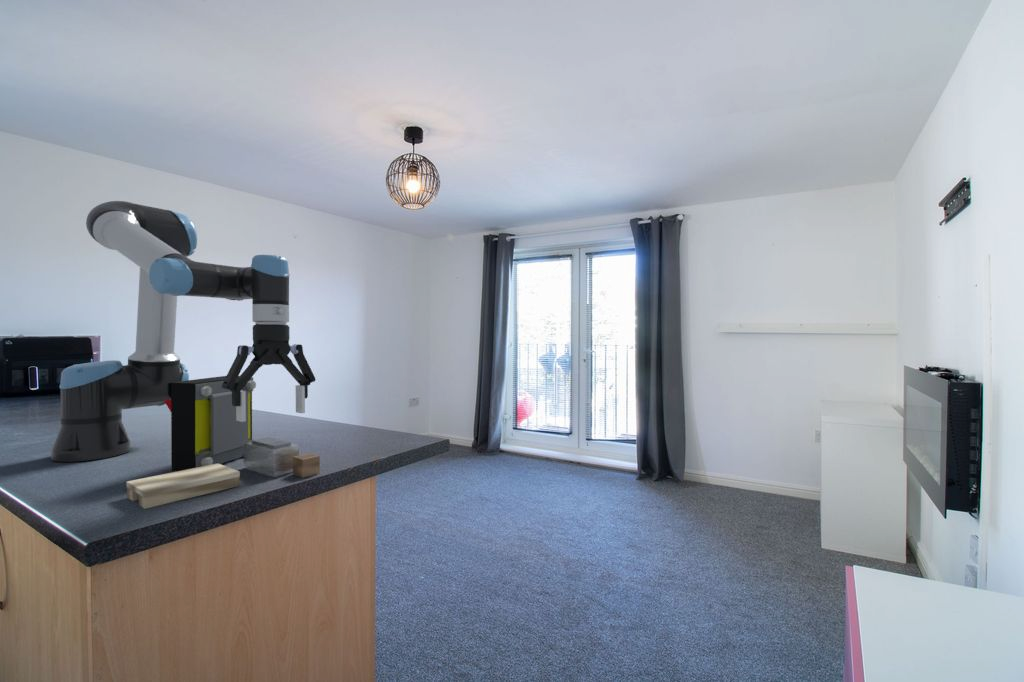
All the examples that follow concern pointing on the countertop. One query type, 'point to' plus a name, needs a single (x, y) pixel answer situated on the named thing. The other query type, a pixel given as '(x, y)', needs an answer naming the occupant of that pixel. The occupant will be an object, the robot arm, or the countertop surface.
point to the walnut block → (306, 465)
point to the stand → (181, 485)
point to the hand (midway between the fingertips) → (272, 416)
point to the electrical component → (206, 423)
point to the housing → (270, 456)
